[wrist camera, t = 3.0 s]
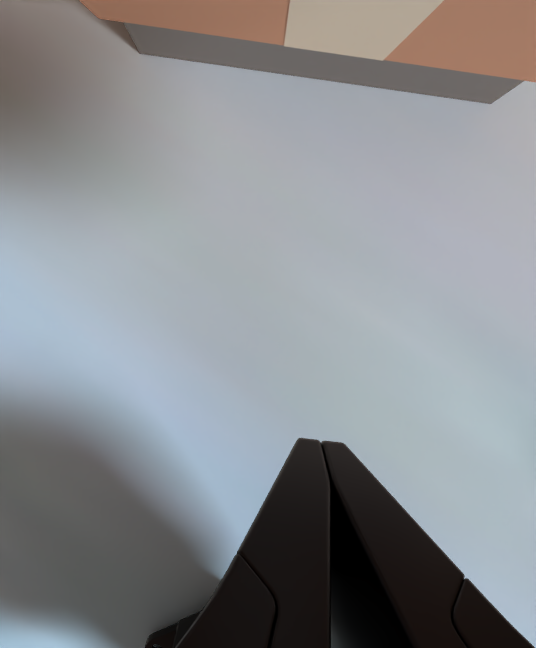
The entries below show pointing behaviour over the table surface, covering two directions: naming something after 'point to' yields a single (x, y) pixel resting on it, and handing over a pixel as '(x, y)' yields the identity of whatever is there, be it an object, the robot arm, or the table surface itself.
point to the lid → (360, 28)
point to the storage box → (318, 64)
